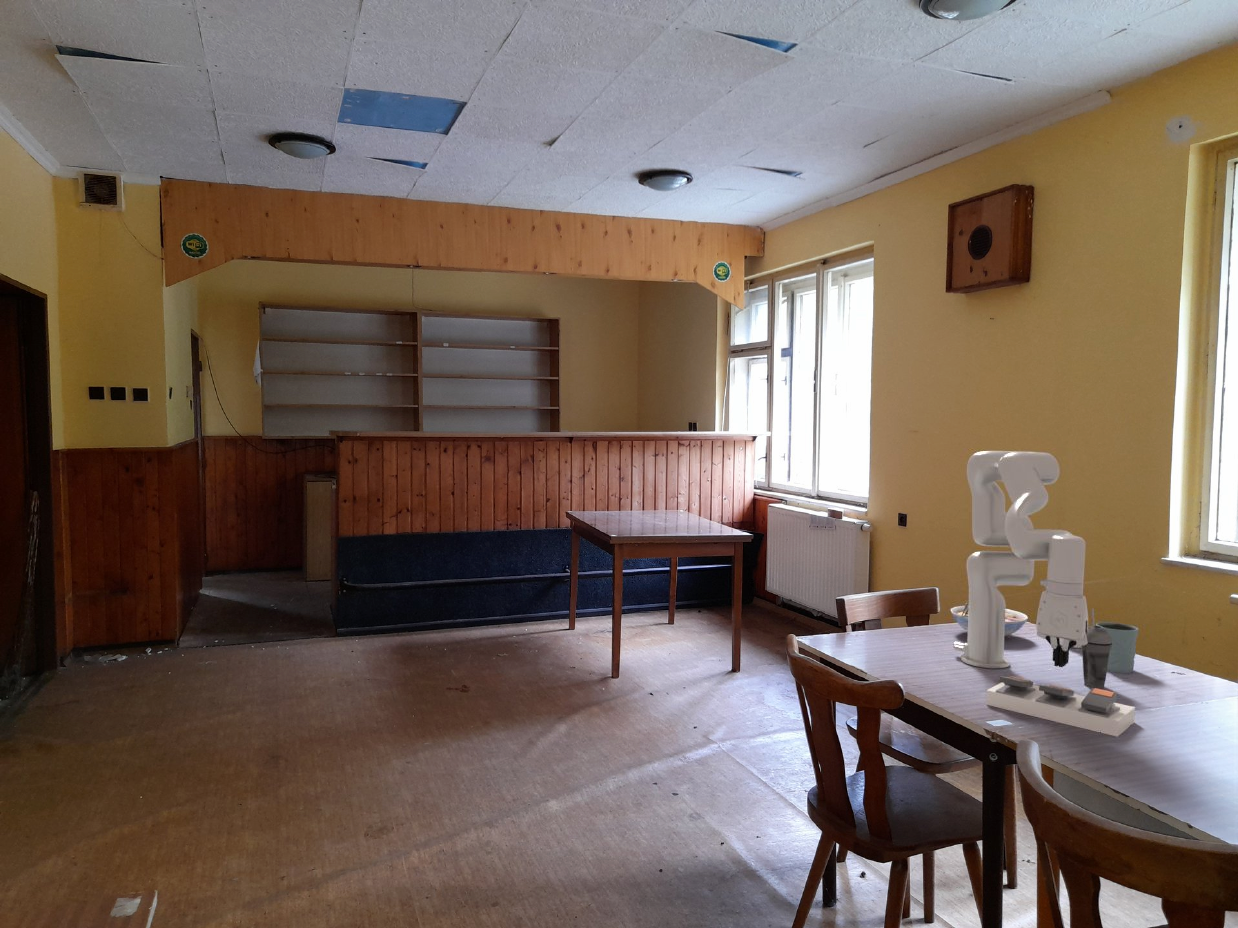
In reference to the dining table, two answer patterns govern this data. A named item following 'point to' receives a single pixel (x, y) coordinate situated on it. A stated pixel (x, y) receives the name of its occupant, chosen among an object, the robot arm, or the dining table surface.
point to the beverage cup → (1096, 655)
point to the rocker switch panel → (1061, 709)
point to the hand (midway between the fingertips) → (1060, 665)
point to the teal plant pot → (1121, 646)
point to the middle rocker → (1056, 691)
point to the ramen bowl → (1012, 618)
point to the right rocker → (1099, 700)
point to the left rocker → (1016, 682)
